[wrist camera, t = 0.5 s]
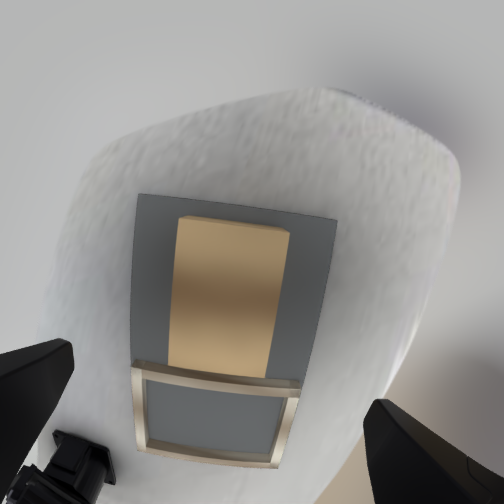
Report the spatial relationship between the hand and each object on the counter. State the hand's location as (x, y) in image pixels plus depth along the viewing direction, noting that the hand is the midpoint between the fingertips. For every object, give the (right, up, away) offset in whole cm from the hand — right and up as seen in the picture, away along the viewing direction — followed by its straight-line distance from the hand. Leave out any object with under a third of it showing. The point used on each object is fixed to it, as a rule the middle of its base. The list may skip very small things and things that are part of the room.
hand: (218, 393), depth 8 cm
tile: (-1, +1, +12) cm, 13 cm away
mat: (-2, -4, +14) cm, 14 cm away
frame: (-2, -9, +14) cm, 17 cm away
